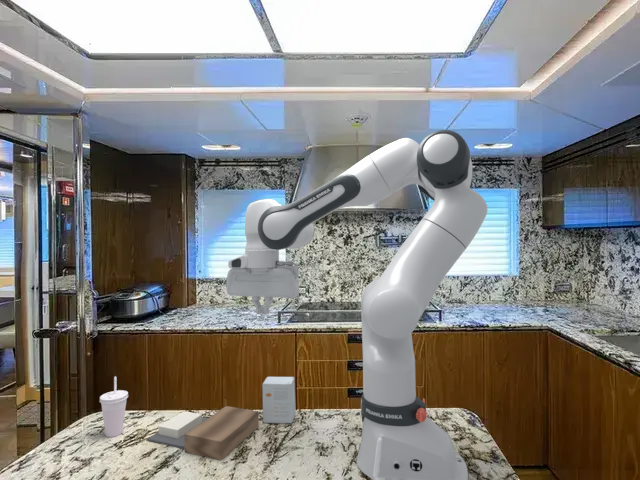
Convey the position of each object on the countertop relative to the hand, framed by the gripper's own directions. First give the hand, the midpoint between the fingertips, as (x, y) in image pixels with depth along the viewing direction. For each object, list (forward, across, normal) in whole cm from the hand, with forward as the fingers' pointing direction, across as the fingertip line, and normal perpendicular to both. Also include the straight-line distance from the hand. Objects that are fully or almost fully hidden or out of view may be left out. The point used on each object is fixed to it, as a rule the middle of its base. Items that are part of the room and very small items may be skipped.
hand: (262, 313), depth 97 cm
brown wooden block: (+29, +6, +9) cm, 31 cm away
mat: (+29, +17, +9) cm, 35 cm away
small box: (+29, -2, -5) cm, 30 cm away
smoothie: (+29, +34, +16) cm, 48 cm away
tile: (+27, +19, +9) cm, 34 cm away
